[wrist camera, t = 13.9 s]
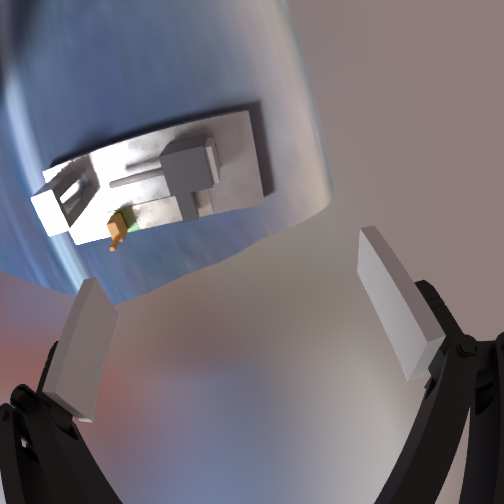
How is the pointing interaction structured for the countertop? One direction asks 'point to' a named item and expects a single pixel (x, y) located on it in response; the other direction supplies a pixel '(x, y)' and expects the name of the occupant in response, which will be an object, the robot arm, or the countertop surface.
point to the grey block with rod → (183, 172)
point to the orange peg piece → (116, 229)
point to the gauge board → (150, 190)
